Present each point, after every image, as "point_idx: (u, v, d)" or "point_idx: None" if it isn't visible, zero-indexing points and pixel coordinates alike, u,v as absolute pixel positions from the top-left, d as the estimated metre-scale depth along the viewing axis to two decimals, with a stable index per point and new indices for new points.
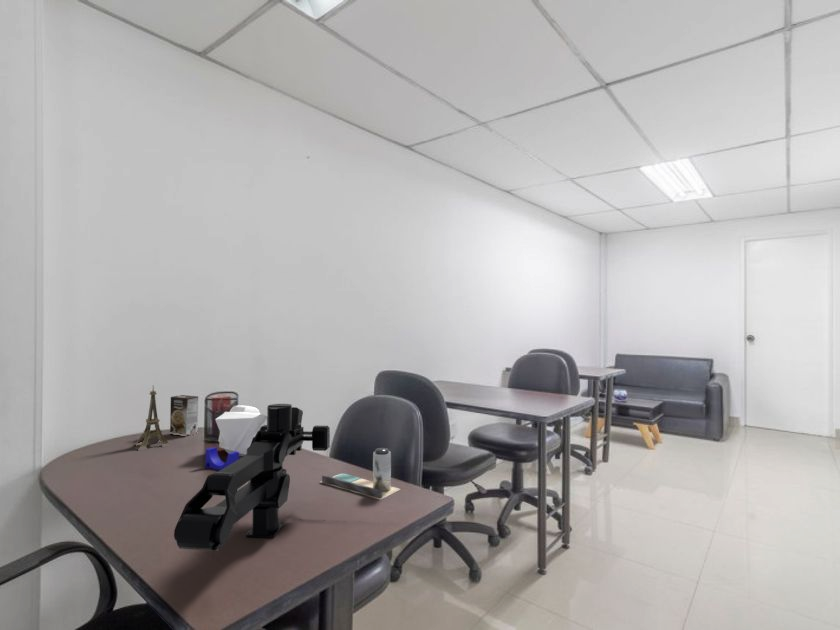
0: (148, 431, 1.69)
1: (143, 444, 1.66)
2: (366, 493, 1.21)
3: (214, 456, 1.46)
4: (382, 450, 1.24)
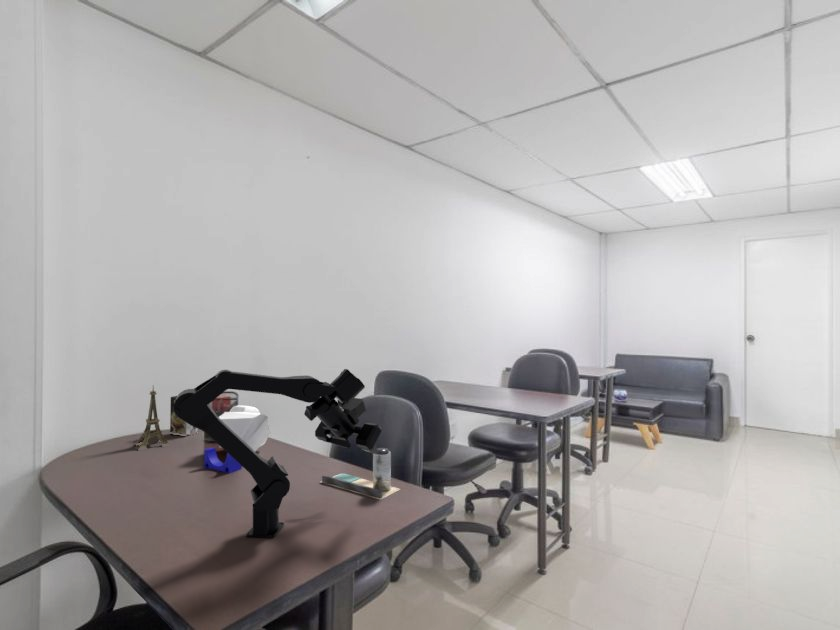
0: (148, 431, 1.69)
1: (143, 444, 1.66)
2: (366, 493, 1.21)
3: (213, 457, 1.46)
4: (382, 450, 1.24)
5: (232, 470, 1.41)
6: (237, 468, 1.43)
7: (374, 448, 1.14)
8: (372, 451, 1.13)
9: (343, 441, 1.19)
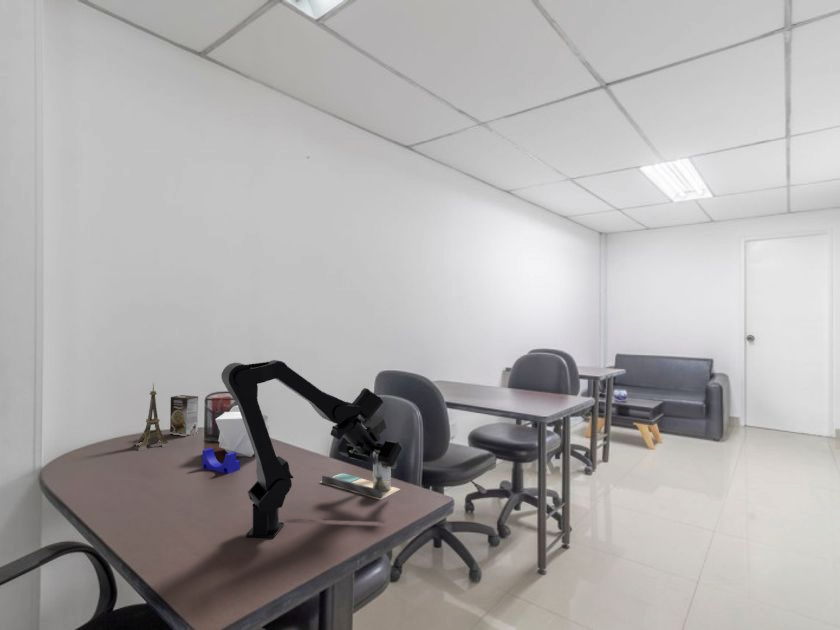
0: (148, 431, 1.69)
1: (143, 444, 1.66)
2: (366, 493, 1.21)
3: (211, 457, 1.45)
4: None
5: (231, 470, 1.40)
6: (236, 468, 1.42)
7: (394, 463, 1.21)
8: (392, 466, 1.20)
9: (364, 456, 1.26)
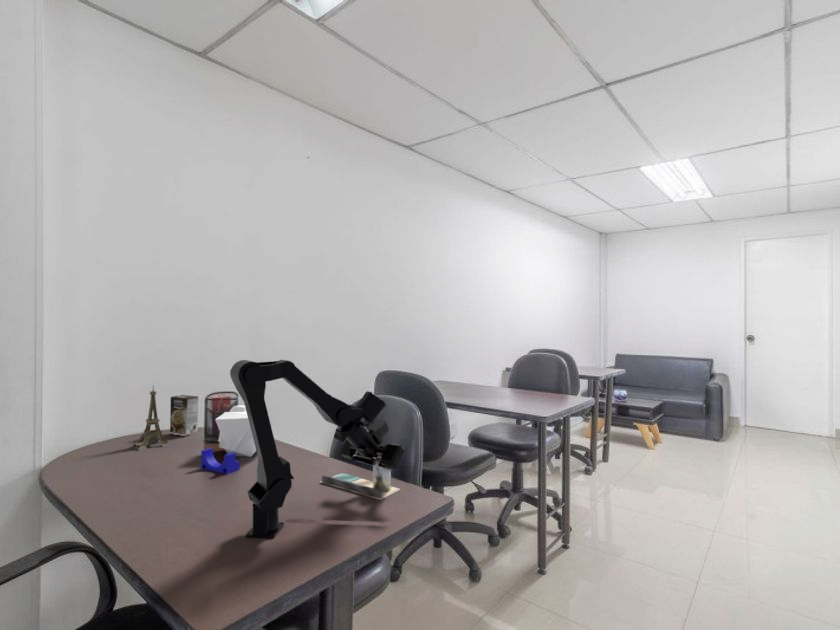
0: (148, 431, 1.69)
1: (143, 444, 1.66)
2: (366, 493, 1.21)
3: (210, 457, 1.45)
4: None
5: (230, 471, 1.40)
6: (235, 469, 1.42)
7: None
8: (389, 468, 1.22)
9: (372, 460, 1.26)
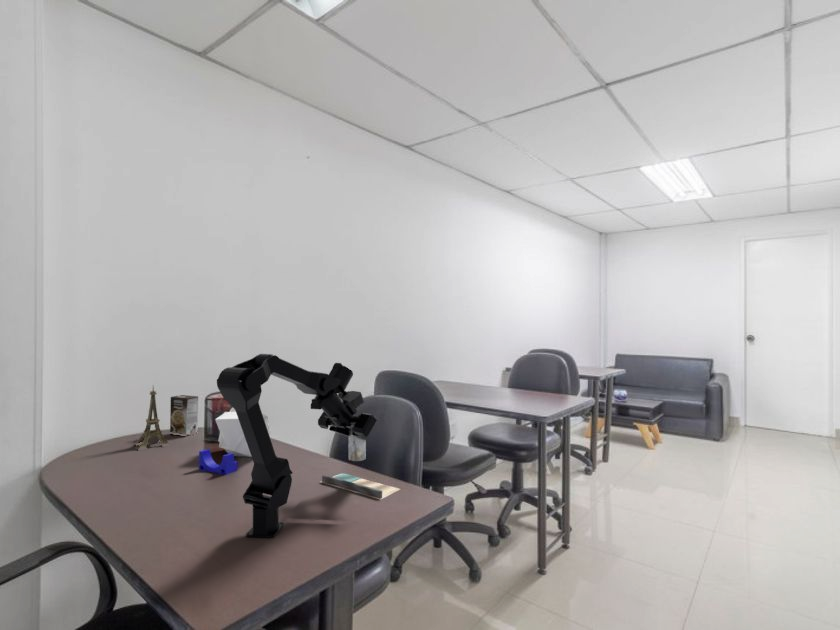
0: (148, 431, 1.69)
1: (143, 444, 1.66)
2: (366, 493, 1.21)
3: (208, 458, 1.44)
4: None
5: (228, 472, 1.39)
6: (233, 469, 1.41)
7: None
8: (363, 438, 1.27)
9: (348, 431, 1.31)
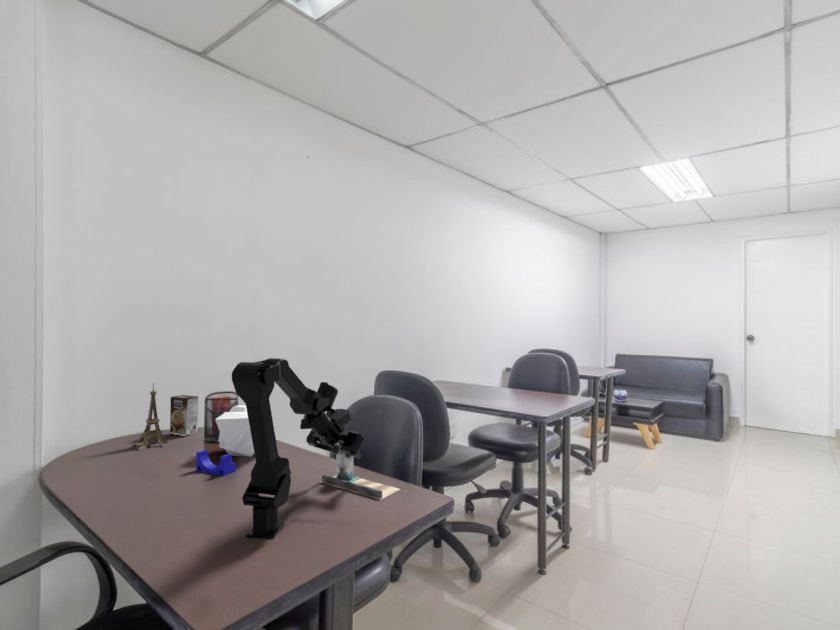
0: (148, 431, 1.69)
1: (143, 444, 1.66)
2: (366, 493, 1.21)
3: (205, 459, 1.43)
4: None
5: (226, 472, 1.39)
6: (231, 470, 1.40)
7: (358, 453, 1.30)
8: (356, 456, 1.29)
9: (331, 447, 1.35)
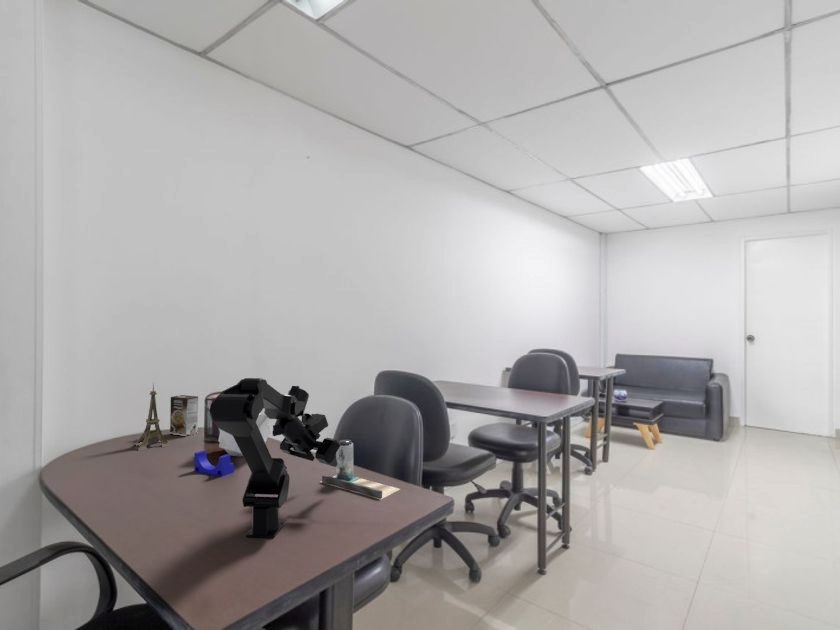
0: (148, 431, 1.69)
1: (143, 444, 1.66)
2: (366, 493, 1.21)
3: (203, 460, 1.42)
4: (345, 441, 1.32)
5: (225, 473, 1.38)
6: (230, 471, 1.40)
7: (334, 461, 1.22)
8: (332, 464, 1.21)
9: (307, 454, 1.27)
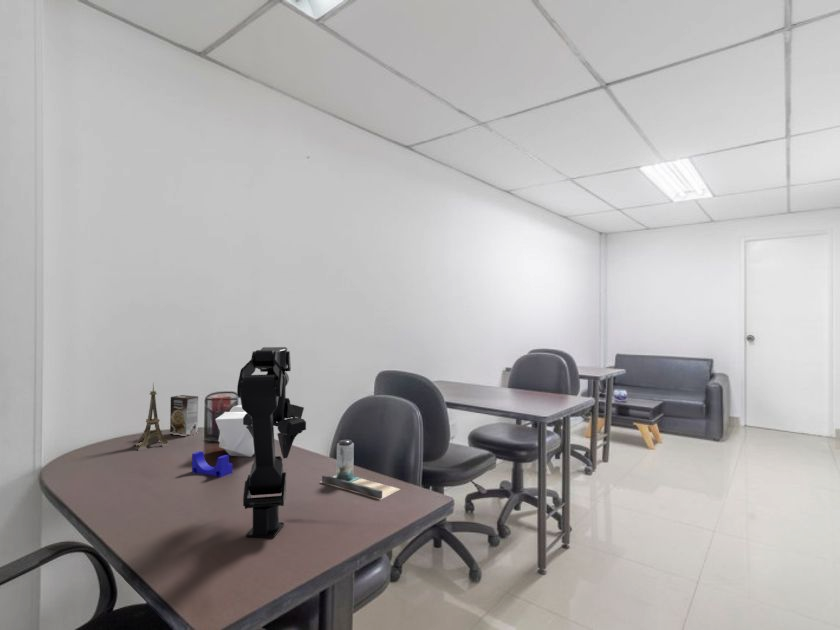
0: (148, 431, 1.69)
1: (143, 444, 1.66)
2: (366, 493, 1.21)
3: (201, 461, 1.41)
4: (345, 441, 1.32)
5: (223, 474, 1.37)
6: (228, 471, 1.39)
7: (287, 450, 1.13)
8: (284, 450, 1.12)
9: None
